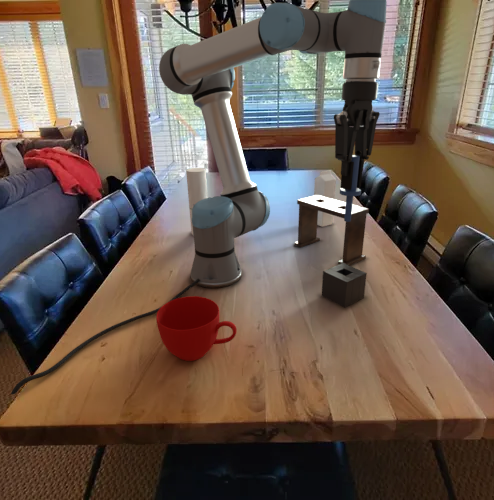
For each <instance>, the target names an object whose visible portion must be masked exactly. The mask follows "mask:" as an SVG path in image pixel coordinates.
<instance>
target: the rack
mask: <svg viewBox="0 0 494 500" xmlns="http://www.w3.org/2000/svg"><path fill="white" fill-rule="evenodd" d="M296 204H297V205H298V225H297V230H298V231H297V241H294V242H293V245H294V246H296V247H298V248H303V247H306V246H309V245H312V244H315V243H317V242H320V241H321V238H320V237H317V236H318V225H317V220H318V211H321V212H324V213H328V214H331V215H333V217H334V216H335V217H338V218H341V219H344V218H345V207H346V201H342V200H338V199H336V198H335V199H331V198H327V197H324V196H320V195H315V196H314V195H311V196H308V197H302V198H300V199H299V198H298V199H296ZM369 212H370V208H368V207H365V206H361V205H357V204H352V214H351V221H350V222H346V221H345V225H344V226H345V227H344V236H343V250H342V259H340V260H338V262H337V265H339V264H341V263H344V264H347V265H349V266H351V265H355V264H357V263H359V262H361V261H363V260H365V259H366V258H367V256H366V255H364V254H363V250H364V242H365V231H366V224H367V215H368V214H369Z"/></svg>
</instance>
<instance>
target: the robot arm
mask: <svg viewBox="0 0 494 500" xmlns="http://www.w3.org/2000/svg"><path fill="white" fill-rule="evenodd" d="M387 2H388V1H387V0H349V1H348V5H347V9H345V10H342V11H335V12H333V11H332V12H322V11H317V10H313V9H309V8H305V7H301V6H298V5H295V4H293V3H288V2H274V3H272V4H270V5H268V6H267V7H266V9H265V10H264V11H263V12H262V15H260V17H258V18H255V19H252V20H250V21H247V22H245V23H242V24H240V25H236V26H235V27H233V28H230V29H228V30H225V31H223V32H220V33H218V34H216V35H213V36H210V37H208V38H206V39H203V40H201V41H198V42H196V43H195V42H194V43H193V44H189V43H180V44H178V45H175V46H174V47H171V48H169V49H167V50H166V51H165V52H164V53H163V54H162V56H161V57H160V60H159V63H158V64H159V65H158V70H159V71H158V72H159V76H160V79H161V82H162V83H163V84H164V86H165V87H166V88H167V89H169V90H170V91H171V92H173V93H174V94H177V95H182V96H183V95H186V96H191V98H192V102H193V104H194V107H197V108H199V109H200V110H201V114H202V118H203V121H204V124H205V127H206V132H207V135H208V139H209V142H210V146H211V149H212V152H213V156H214V159H215V163H216V167H217V170H218V174H219V177H220V181H221V184H222V187H223V188H222V190H221V192H220V195H218V196H212V197H210V196H209V197H208V198H205V199H203V200H200V201H199V202H197V203H196V204H195V205H194V206H193V208H192V225H193V234H194V236H193V244H194V245H193V246H194V257H193V261H192V265H191V269H190V280H191V281H192V283H190V284H189V285H188V286H186V287H185V288H184V289H182V290H181V291H180V292H179V293H177V294H176V295H174V296H173V297H172V298H170V300H169V301H168V302H170V301H172V300H174V299H177V298H181V297H182V296H183V295H184V294H186V292H188V291H189V290H190V289H192V288H194V286H196V285H197V286H198V287H201V288H208V289H209V288H210V289H220V288H226V287H229V286H232V285H234V284H236V283H237V282H239V281H240V280H241V278H242V266H241V264H240V262H239V259H238V256H237V255H236V251H235V239H236V238H239V237H240V236H243V235H245V234H247V233H250V232H252V231H253V232H254V231H256V230H258V229H259V228H260V227H263V226H264V225H265V224H266V223H267V221H268V220H269V218H270V214H271V205H270V201H269V198H268V197H267V196H266V195H265V194H264V192H262V191H260V190H259V188H258V185H257V184H256V183H255V182H253V181H252V180H251V177H250V175H249V170H248V168H247V167H248V166H247V164H246V159H245V156H244V152H243V148H242V145H241V141H240V137H239V134H238V130H237V127H236V121H235V118H234V115H233V112H232V107H231V104H230V100H231V99H232V96H233V92H232V89H233V87H234V85H235V82H234V81H235V79H236V72H235V68H238V67H240V66H243V65H247V64H250V63H253V62H256V61H259V60H262V59H265V58H268V57H271V56H275V55H279V54H282V53H286V52H288V51H298V52H299V53H301V54H305V55H306V54H308V55H317V54H325V53H335V52H344V59H343V60H344V62H343V71H342V79H343V80H345V82H343V83H342V89H341V90H342V91H341V100H342V101H343V102H344V104H343V107H342V111H341V112H339V113H335V114H334V115H333V121H334V129H335V131H334V134H335V135H334V136H335V138H334V139H335V140H334V143H335V144H334V151H335V152H334V158H335V159H336V160H337V161H340V162H341V165H340V176H341V177H340V188H343V189H347V190H351V188H352V178H353V167H354V162H352V161H351V160H352V155H358V156H360V160H359V170H358V179H357V188H359V189H360V188H362V179H363V178H362V177H363V172H364V167H365V166H364V165H365V161H368V160H369V159H370V156H371V155H372V151H373V146H374V140H375V135H376V129H377V123H378V120H379V118H380V112H379V111H375V110H374V107H373V101H376V100H377V98H378V92H379V83H378V81H376V80H378V79H379V78H380V72H381V71H380V70H381V61H382V52H383V44H384V38H385V37H384V36H385V28H386V23H387V4H388V3H387ZM340 188H339V189H340ZM161 307H162V306H159V307H158V308H156V309H154V310H151V311H148V312H145V313H142V314H139V315H136V316H134V317H131V318H128V319H126V320H124V321H121V322H117V323H115V324H114V325H111V326H109V327H107V328H105V329H103V330H101V331H99V332H98V333H96V334H94V335H93V336H91V337H89V338H87V339H86V340H84V342H82V343H80V344H79V345H78V346H76V347H75V348H73V349H72V350H71V351H69V352H68V353H67V354H66V355H65V356H63V357H62V359H60V360H59V361H58V362H57V363H55V364H54V365H52V366H51V367H49V368H48V369H45V370H44V371H41V372H38V373H34V374H32V375H28V376H27V377H24V378H23V379H22V380H20V381H19V382H18V383H17V384H16V385H15V386H14V387H13V388H12V391H11V393H10V395H15V394H17V393H18V392H19V390H20V389H21V388H22V387H23V386H24V385H25V384H27V383H29V382H32V381H34V380H38V379H40V378H44V377H45V376H48V375H50V374H51V373H54V371H56V370H58V369H59V368H60V367H61V366H63V365H64V364H65V363H66V362H67V361H68V360H70V359H71V357H73V356H74V355H75V354H77V353H78V352H79V351H80V350H82V349H83V348H85V347H86V346H88V345H89V344H90V343H92V342H94V341H96V340H97V339H98V338H100V337H102V336H104V335H106V334H107V333H110V332H112V331H114V330H116V329H118V328H120V327H123V326H125V325H128V324H131V323H133V322H135V321H137V320H141V319H143V318H147V317H149V316H150V317H151V316H152V315H156V314H157V312H158V310H159V309H160V308H161Z"/></svg>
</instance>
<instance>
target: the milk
mask: <svg viewBox="0 0 494 500" xmlns="http://www.w3.org/2000/svg"><path fill="white" fill-rule="evenodd" d="M336 184H337V179H336V177H335V176H334V175H333V174H332V169H327V170H322V171H321V170H320V172H319V175H318V176H316V177H315V178H314V188H313V196H315V195H320V196H324V197H327V198H331V199H335V200H336ZM333 224H334V215H331V214H328V213H324V212H321V211H318V220H317V226H320V227H322V228H323V227H326V226H327V227H328V226H331V225H333Z"/></svg>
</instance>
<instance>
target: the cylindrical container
mask: <svg viewBox="0 0 494 500" xmlns="http://www.w3.org/2000/svg"><path fill="white" fill-rule="evenodd" d="M185 173H186V187H187V195H188V196H187V199H188V208H189V220H190V230H191V231H190V232H191V235H192V236H193V237H194V234H193V225H192V208H193V206H194V205H195V204H196V203H197V202H199V201H200V200H203V199H205V198H209V197H208V183H207V170H206V168H204V167H192V168H191V167H190V168H187V169H185Z"/></svg>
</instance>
